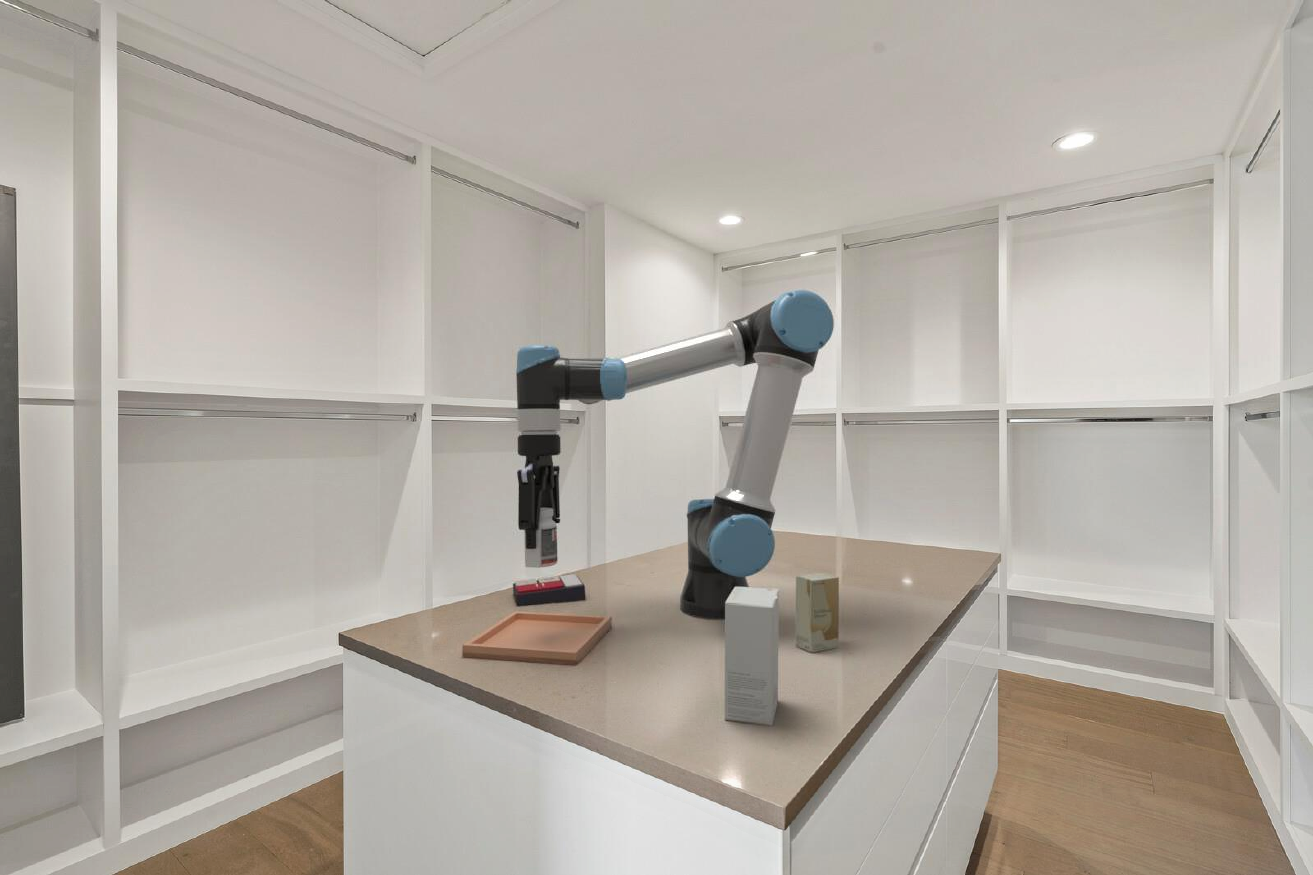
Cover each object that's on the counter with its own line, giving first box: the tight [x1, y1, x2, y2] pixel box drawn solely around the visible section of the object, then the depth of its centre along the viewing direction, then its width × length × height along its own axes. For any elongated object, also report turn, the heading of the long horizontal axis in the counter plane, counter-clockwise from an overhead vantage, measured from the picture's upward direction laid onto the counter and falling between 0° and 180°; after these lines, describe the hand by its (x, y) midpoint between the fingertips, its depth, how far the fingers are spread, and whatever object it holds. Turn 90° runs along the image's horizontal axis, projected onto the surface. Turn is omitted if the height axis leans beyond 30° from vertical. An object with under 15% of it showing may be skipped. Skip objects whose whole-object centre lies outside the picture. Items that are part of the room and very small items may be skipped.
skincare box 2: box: [795, 572, 840, 653], centre depth 109 cm, size 6×4×12 cm
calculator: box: [512, 574, 587, 607], centre depth 144 cm, size 11×4×15 cm
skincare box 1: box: [724, 586, 780, 726], centre depth 85 cm, size 8×7×16 cm
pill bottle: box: [523, 508, 558, 568], centre depth 114 cm, size 6×6×10 cm
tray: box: [461, 610, 613, 666], centre depth 114 cm, size 20×20×2 cm
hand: (540, 562), depth 114 cm, fingers closed on pill bottle, 6 cm apart
